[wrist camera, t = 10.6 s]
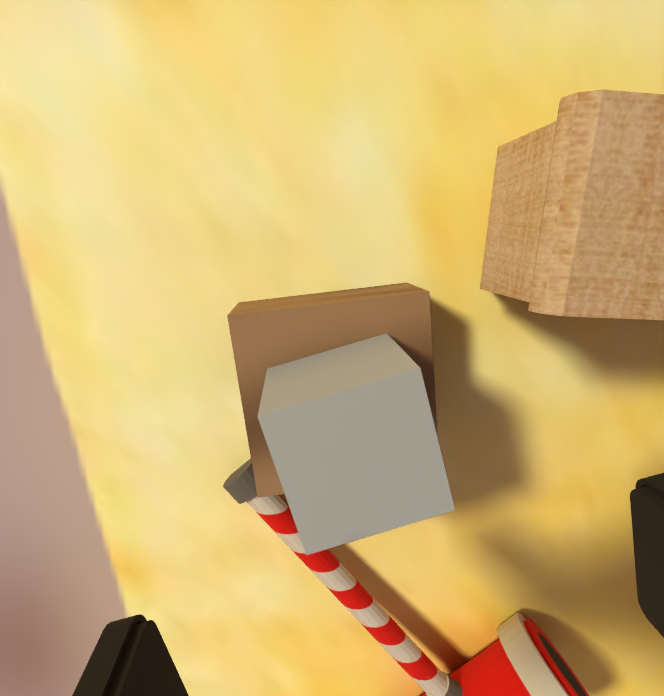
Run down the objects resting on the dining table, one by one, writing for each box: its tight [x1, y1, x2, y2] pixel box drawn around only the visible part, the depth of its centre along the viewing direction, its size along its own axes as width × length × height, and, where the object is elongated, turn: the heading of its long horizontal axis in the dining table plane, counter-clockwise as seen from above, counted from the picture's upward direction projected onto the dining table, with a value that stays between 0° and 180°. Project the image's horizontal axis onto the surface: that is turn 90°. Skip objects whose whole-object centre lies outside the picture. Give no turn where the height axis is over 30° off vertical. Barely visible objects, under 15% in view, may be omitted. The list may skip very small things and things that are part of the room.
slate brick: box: [257, 333, 455, 555], centre depth 16 cm, size 5×5×5 cm
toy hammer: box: [223, 459, 589, 696], centre depth 23 cm, size 23×12×6 cm, turn 40°
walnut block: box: [227, 283, 437, 498], centre depth 21 cm, size 8×8×4 cm
